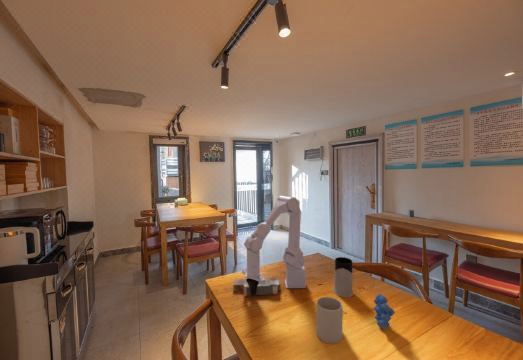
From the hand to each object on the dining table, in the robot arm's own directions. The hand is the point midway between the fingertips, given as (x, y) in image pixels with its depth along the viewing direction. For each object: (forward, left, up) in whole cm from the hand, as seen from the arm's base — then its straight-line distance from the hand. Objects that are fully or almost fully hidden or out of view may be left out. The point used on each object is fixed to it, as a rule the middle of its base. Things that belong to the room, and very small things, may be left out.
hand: (253, 294), depth 103 cm
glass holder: (-42, -7, -2) cm, 43 cm away
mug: (-27, +22, -2) cm, 35 cm away
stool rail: (-2, -7, -1) cm, 7 cm away
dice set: (-34, +10, -2) cm, 36 cm away
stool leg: (-3, -3, -1) cm, 5 cm away
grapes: (-47, +20, -2) cm, 52 cm away
